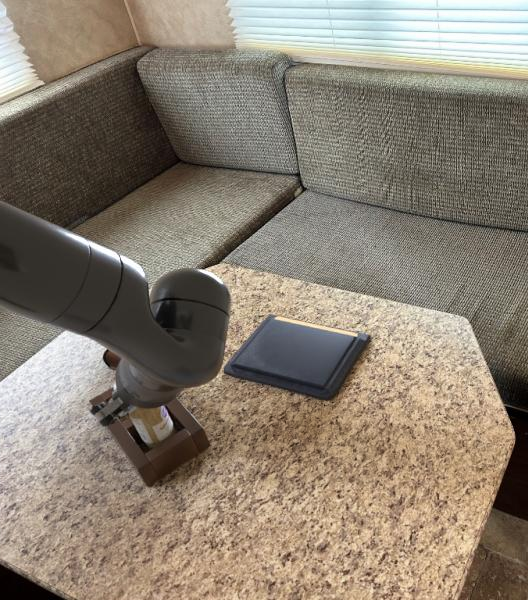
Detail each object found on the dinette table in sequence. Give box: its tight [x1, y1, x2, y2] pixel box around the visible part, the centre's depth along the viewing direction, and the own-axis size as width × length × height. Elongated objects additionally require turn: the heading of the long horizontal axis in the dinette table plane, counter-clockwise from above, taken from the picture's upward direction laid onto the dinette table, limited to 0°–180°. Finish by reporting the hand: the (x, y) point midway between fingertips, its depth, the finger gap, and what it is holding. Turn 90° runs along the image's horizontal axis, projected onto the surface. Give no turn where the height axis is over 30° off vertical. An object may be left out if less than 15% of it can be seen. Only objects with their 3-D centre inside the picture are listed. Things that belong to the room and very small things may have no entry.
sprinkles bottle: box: [113, 382, 178, 452], centre depth 82 cm, size 5×5×13 cm
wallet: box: [222, 313, 372, 402], centre depth 98 cm, size 20×2×15 cm
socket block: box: [88, 386, 212, 488], centre depth 88 cm, size 10×17×4 cm, turn 42°
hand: (134, 397), depth 82 cm, fingers closed on sprinkles bottle, 4 cm apart
